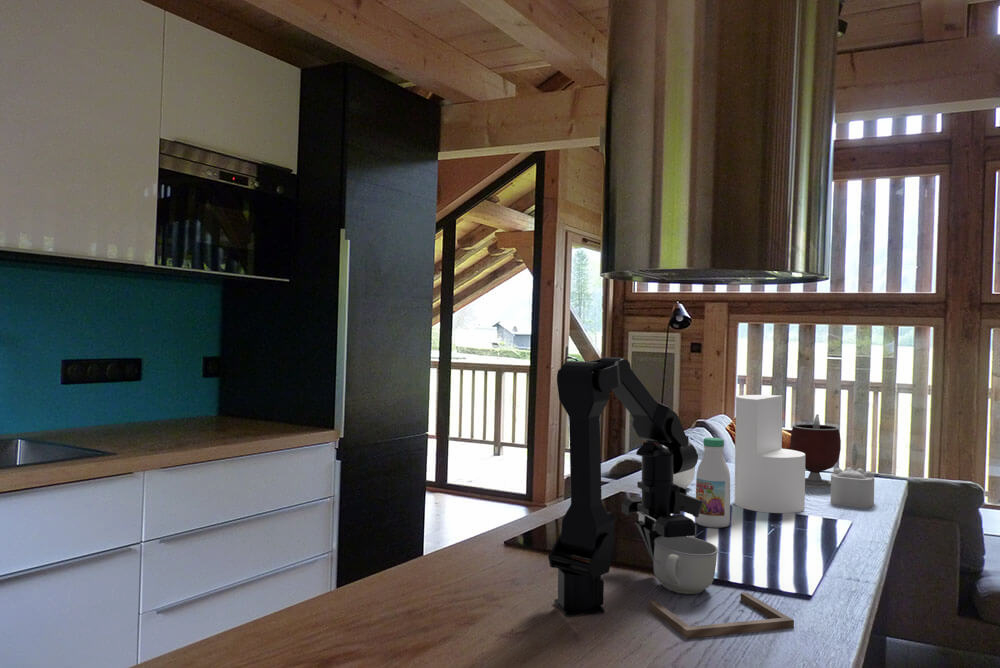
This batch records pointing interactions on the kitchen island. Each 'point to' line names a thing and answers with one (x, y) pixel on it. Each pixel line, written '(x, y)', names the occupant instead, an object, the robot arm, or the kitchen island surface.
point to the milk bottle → (713, 485)
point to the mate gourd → (817, 449)
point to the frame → (774, 623)
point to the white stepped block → (766, 459)
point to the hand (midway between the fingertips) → (656, 562)
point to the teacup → (684, 563)
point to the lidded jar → (684, 478)
